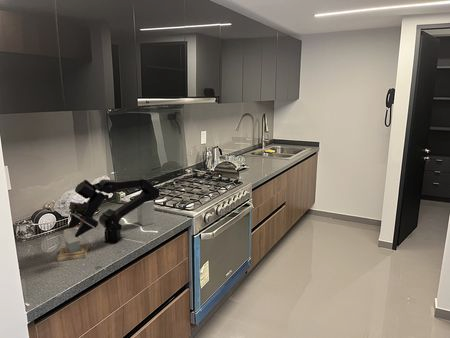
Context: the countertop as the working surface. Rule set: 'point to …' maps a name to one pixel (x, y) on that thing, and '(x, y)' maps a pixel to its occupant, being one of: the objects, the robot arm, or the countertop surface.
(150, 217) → the supplement box
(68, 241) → the plain gray box
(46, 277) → the countertop surface
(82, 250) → the wooden tray
